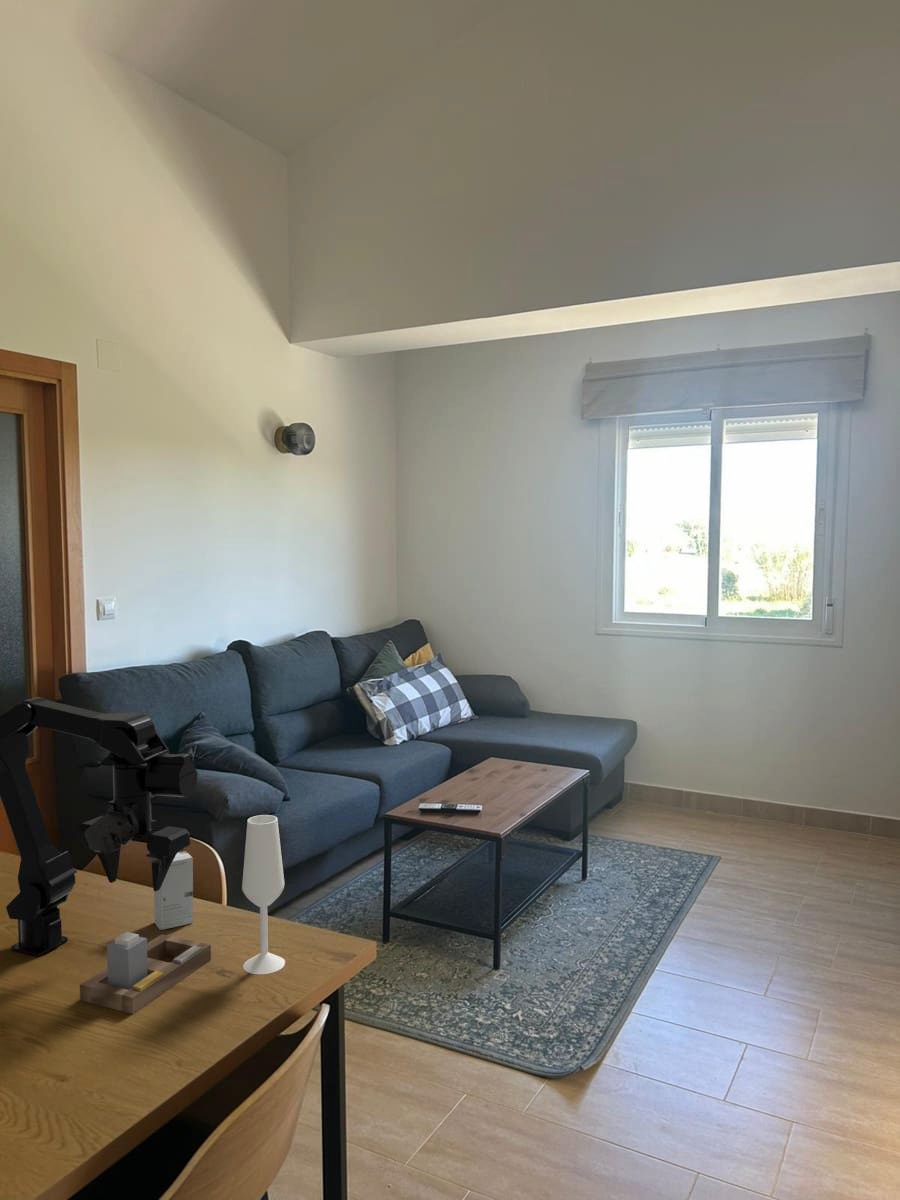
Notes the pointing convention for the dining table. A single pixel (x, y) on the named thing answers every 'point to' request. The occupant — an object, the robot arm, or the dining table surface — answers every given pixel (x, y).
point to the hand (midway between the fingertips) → (134, 886)
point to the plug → (127, 960)
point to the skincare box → (175, 894)
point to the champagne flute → (263, 883)
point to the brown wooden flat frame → (149, 975)
